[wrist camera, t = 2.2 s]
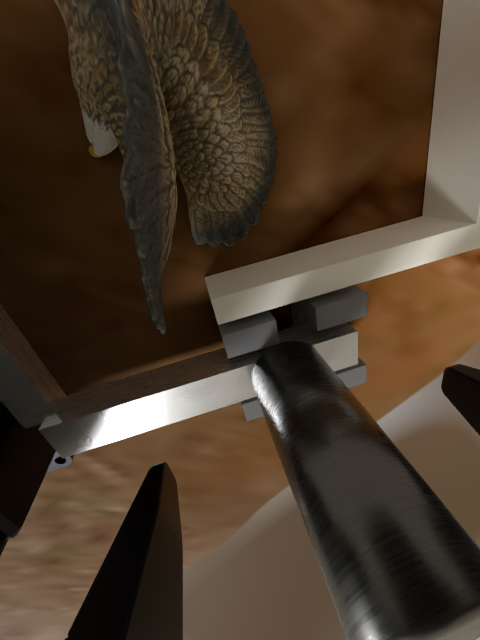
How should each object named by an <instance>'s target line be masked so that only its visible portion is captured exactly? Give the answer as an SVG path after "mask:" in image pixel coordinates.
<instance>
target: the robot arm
mask: <svg viewBox="0 0 480 640" xmlns="http://www.w3.org/2000/svg"><path fill="white" fill-rule="evenodd" d="M441 388H442V391H443V393H444V395H445V396H446V397H447V398H448V399H449V400H450V402H451V403H452V404H453V405H454V406H455V407H456V409H457V410H458V411H459V412H460V413H461V414H462V416H463V417H464V418H465V419H466V420H467V421H468V423H469V424H470V425H471V426H472V427H473V428H474V430H475V431H476V432H477V433H478V434H479V435H480V370H479V369H475V368H472V367H468V366H464V365H461V364H457V365H453V366H450V367H447V368H446V369H445V370H444V374H443V380H442V385H441ZM41 425H42V424H39V425H36V426H32V427H29V428H26V429H25V428H24V427H23V426H22V425H21V424H20V423H19V421H18V420H17V419H16V418H15V417H14V416H13V415H12V414H11V412H10V411H9V410H8V409H7V408H6V407H5V406H4V404H3V403H2V402H1V401H0V556H1V554H2V551H3V549H4V547H5V545H6V543H7V541H8V539H10V538H13V537H15V536H16V535H17V534H18V533H19V531H20V529H21V527H22V525H23V523H24V521H25V519H26V516H27V514H28V512H29V510H30V507H31V505H32V503H33V501H34V499H35V496H36V494H37V492H38V490H39V488H40V485H41V483H42V481H43V479H44V477H45V474H46V473H48V472H51V471H54V470H57V469H60V468H63V467H66V466H68V465H70V464H71V462H72V460H73V457H74V455H72V456H68V457H65V458H62V457H61V456H60V455H59V454H58V453H57V451H56V450H55V449H54V448H53V447H52V446H51V444H50V443H49V442H48V441H47V440H46V438H45V437H44V436H43V435H42V434H41V433H40V431H39V428H40V426H41ZM65 640H183V544H182V532H181V522H180V512H179V502H178V492H177V483H176V479H175V477H174V475H173V473H172V471H171V470H170V468H169V466H168V464H167V463H166V462H161V463H158V464H155V465H153V466H151V467H150V469H149V471H148V473H147V475H146V477H145V479H144V481H143V483H142V485H141V487H140V489H139V491H138V493H137V495H136V497H135V499H134V501H133V503H132V505H131V507H130V509H129V511H128V513H127V515H126V517H125V519H124V521H123V523H122V525H121V527H120V529H119V531H118V534H117V536H116V538H115V540H114V542H113V544H112V546H111V548H110V550H109V552H108V554H107V556H106V558H105V560H104V562H103V564H102V566H101V568H100V570H99V572H98V574H97V576H96V578H95V580H94V582H93V584H92V586H91V588H90V590H89V592H88V594H87V596H86V598H85V600H84V602H83V604H82V606H81V608H80V610H79V612H78V614H77V616H76V618H75V620H74V622H73V624H72V626H71V628H70V630H69V633H68V638H66V639H65Z"/></svg>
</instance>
